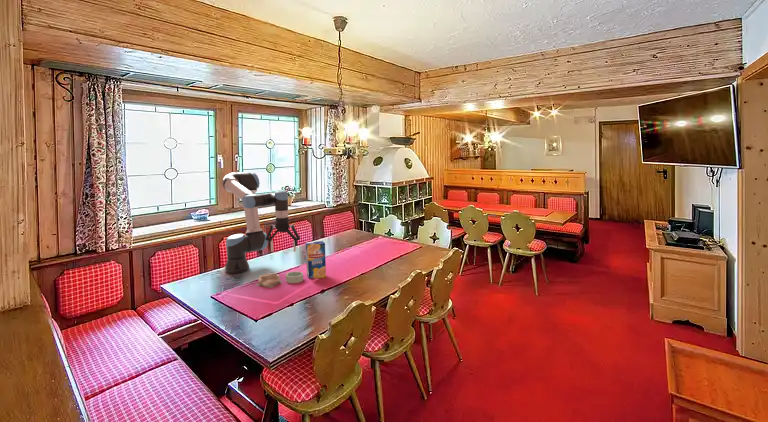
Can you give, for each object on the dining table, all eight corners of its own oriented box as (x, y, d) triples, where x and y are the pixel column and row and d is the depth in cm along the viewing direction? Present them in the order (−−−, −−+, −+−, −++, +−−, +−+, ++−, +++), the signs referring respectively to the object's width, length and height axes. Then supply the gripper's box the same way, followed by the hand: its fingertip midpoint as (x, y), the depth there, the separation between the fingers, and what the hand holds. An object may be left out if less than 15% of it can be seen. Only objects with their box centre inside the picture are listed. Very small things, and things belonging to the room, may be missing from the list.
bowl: (282, 283, 235) (282, 275, 234) (292, 278, 244) (292, 270, 243) (296, 285, 231) (296, 277, 230) (306, 280, 240) (306, 272, 239)
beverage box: (306, 276, 247) (305, 242, 244) (323, 274, 251) (322, 241, 247) (308, 279, 240) (307, 244, 237) (326, 277, 244) (325, 243, 241)
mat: (254, 286, 229) (254, 285, 229) (267, 280, 240) (267, 278, 240) (271, 289, 225) (271, 287, 224) (283, 282, 236) (283, 281, 235)
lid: (254, 285, 229) (254, 278, 228) (267, 278, 240) (267, 271, 239) (271, 287, 224) (270, 280, 224) (283, 281, 235) (283, 274, 235)
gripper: (259, 218, 228) (261, 253, 232) (302, 218, 229) (303, 252, 233) (262, 215, 236) (264, 249, 239) (304, 215, 237) (305, 249, 240)
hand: (283, 251), depth 236 cm, fingers open, 13 cm apart
